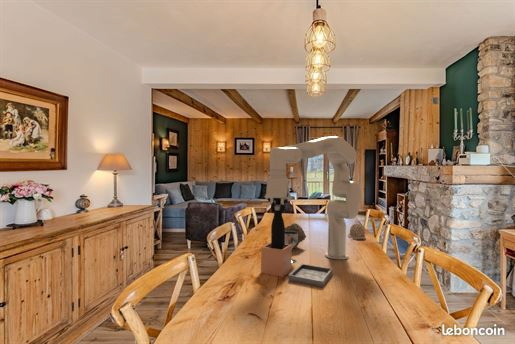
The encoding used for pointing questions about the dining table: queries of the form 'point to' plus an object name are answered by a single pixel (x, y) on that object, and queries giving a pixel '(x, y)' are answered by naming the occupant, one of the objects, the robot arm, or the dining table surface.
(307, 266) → the tray
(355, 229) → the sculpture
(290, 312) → the dining table surface
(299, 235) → the rock
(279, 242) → the wine bottle
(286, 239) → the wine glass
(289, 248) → the box
